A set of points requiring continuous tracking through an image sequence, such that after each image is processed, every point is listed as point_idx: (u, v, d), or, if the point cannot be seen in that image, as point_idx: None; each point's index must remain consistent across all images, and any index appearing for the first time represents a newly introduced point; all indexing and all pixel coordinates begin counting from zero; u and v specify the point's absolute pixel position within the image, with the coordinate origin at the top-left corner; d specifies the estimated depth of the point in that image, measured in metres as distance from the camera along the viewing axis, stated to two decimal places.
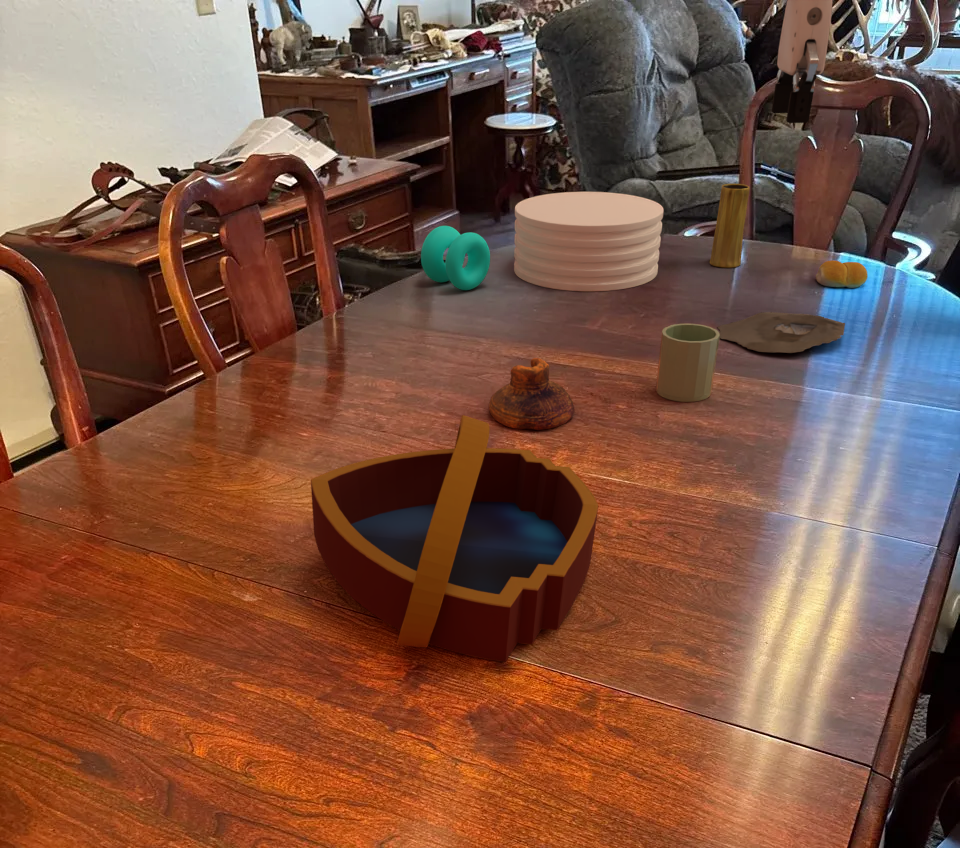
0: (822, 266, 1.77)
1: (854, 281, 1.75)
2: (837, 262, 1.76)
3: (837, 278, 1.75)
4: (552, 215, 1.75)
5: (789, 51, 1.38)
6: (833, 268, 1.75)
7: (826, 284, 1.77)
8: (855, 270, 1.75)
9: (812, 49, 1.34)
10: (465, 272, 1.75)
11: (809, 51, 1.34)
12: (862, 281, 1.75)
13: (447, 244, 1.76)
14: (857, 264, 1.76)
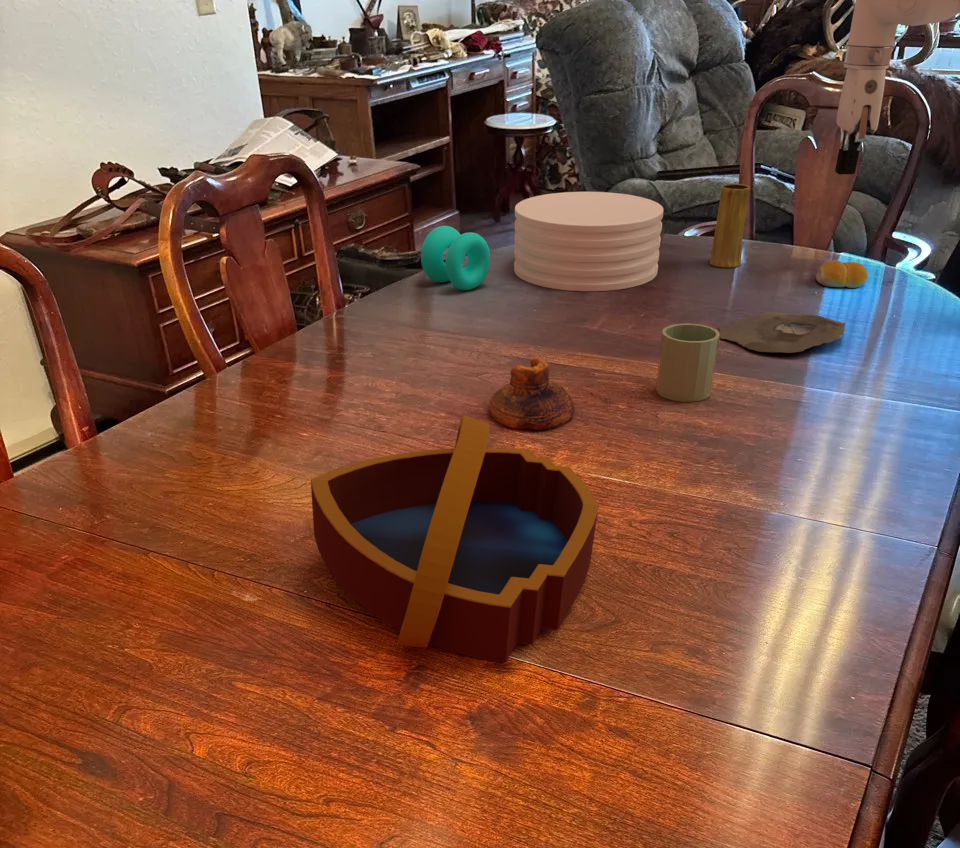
0: (822, 266, 1.77)
1: (854, 281, 1.75)
2: (837, 262, 1.76)
3: (837, 278, 1.75)
4: (552, 215, 1.75)
5: (849, 113, 1.68)
6: (833, 268, 1.75)
7: (826, 284, 1.77)
8: (855, 270, 1.75)
9: (863, 124, 1.67)
10: (465, 272, 1.75)
11: (860, 127, 1.67)
12: (862, 281, 1.75)
13: (448, 244, 1.76)
14: (857, 264, 1.76)
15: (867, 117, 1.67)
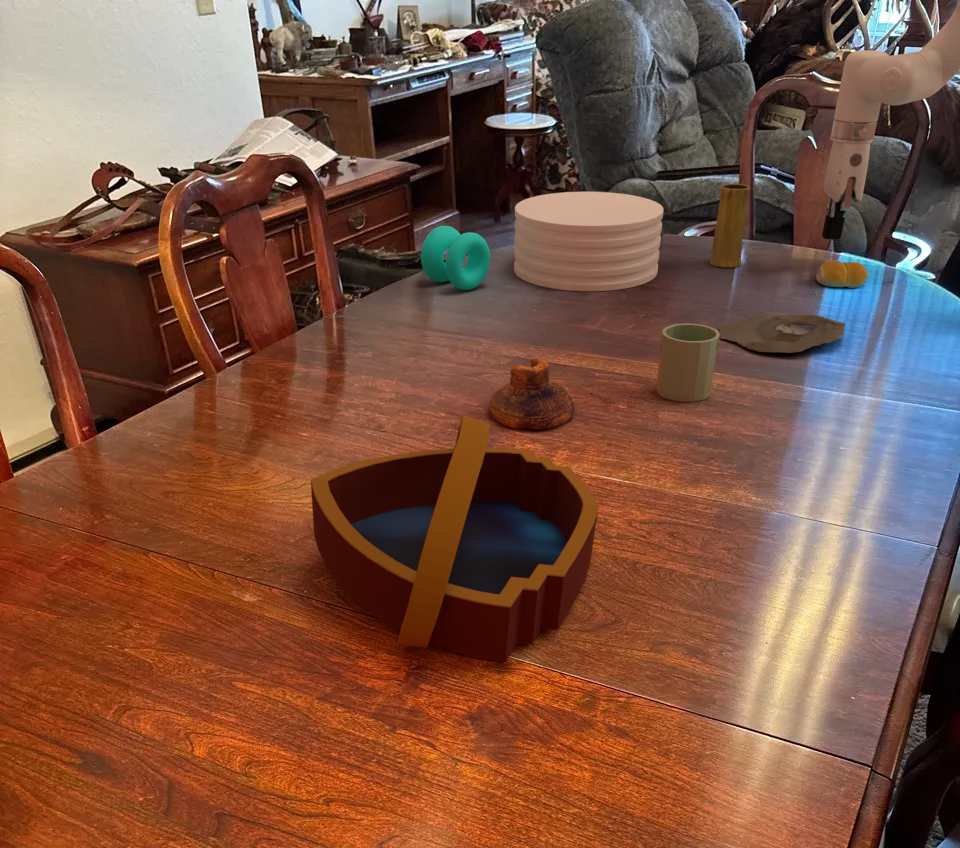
0: (822, 266, 1.77)
1: (854, 281, 1.75)
2: (837, 262, 1.76)
3: (837, 278, 1.75)
4: (552, 215, 1.75)
5: (835, 184, 1.75)
6: (833, 268, 1.75)
7: (826, 284, 1.77)
8: (855, 270, 1.75)
9: (848, 195, 1.74)
10: (465, 272, 1.75)
11: (845, 197, 1.74)
12: (862, 281, 1.75)
13: (447, 244, 1.76)
14: (857, 264, 1.76)
15: (852, 188, 1.74)
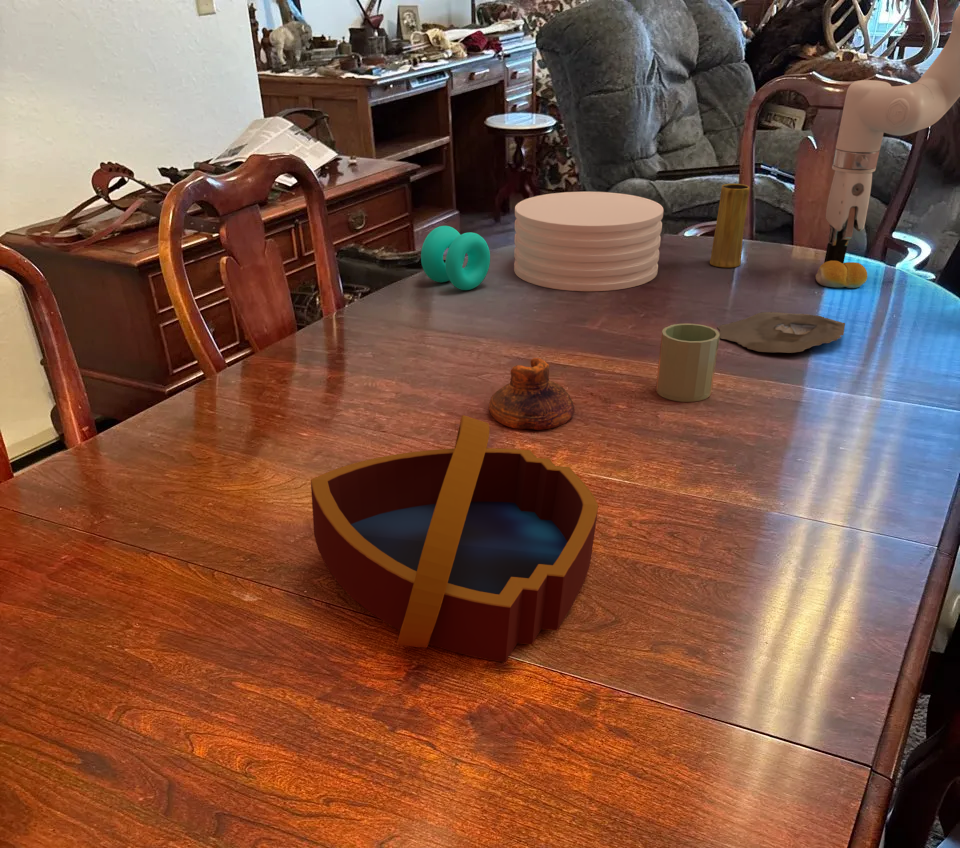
0: (822, 266, 1.77)
1: (854, 281, 1.75)
2: (837, 262, 1.76)
3: (837, 278, 1.75)
4: (552, 215, 1.75)
5: (837, 213, 1.74)
6: (833, 268, 1.75)
7: (826, 284, 1.76)
8: (855, 270, 1.75)
9: (850, 224, 1.73)
10: (465, 272, 1.75)
11: (847, 226, 1.73)
12: (862, 281, 1.75)
13: (448, 244, 1.76)
14: (857, 264, 1.76)
15: (854, 217, 1.72)
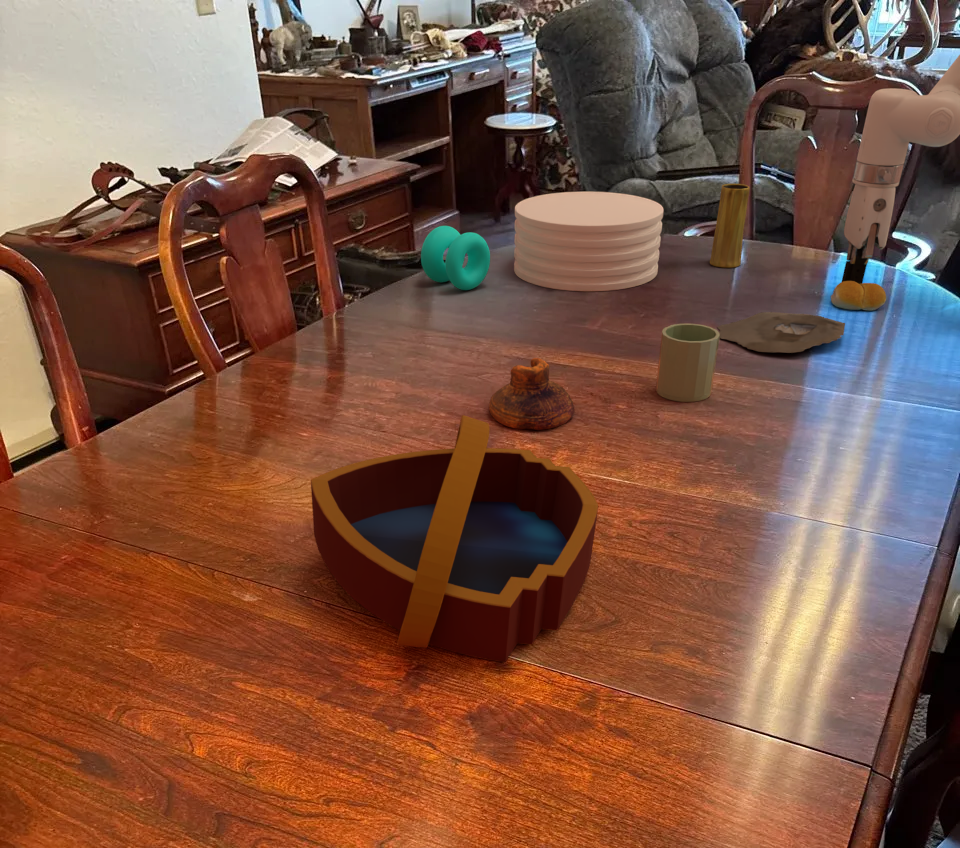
0: (837, 287, 1.67)
1: (870, 304, 1.64)
2: (853, 283, 1.65)
3: (852, 299, 1.64)
4: (552, 215, 1.75)
5: (857, 229, 1.63)
6: (849, 289, 1.65)
7: (841, 306, 1.66)
8: (872, 292, 1.64)
9: (871, 242, 1.62)
10: (465, 272, 1.75)
11: (868, 244, 1.62)
12: (879, 304, 1.65)
13: (447, 244, 1.76)
14: (875, 285, 1.65)
15: (875, 234, 1.62)
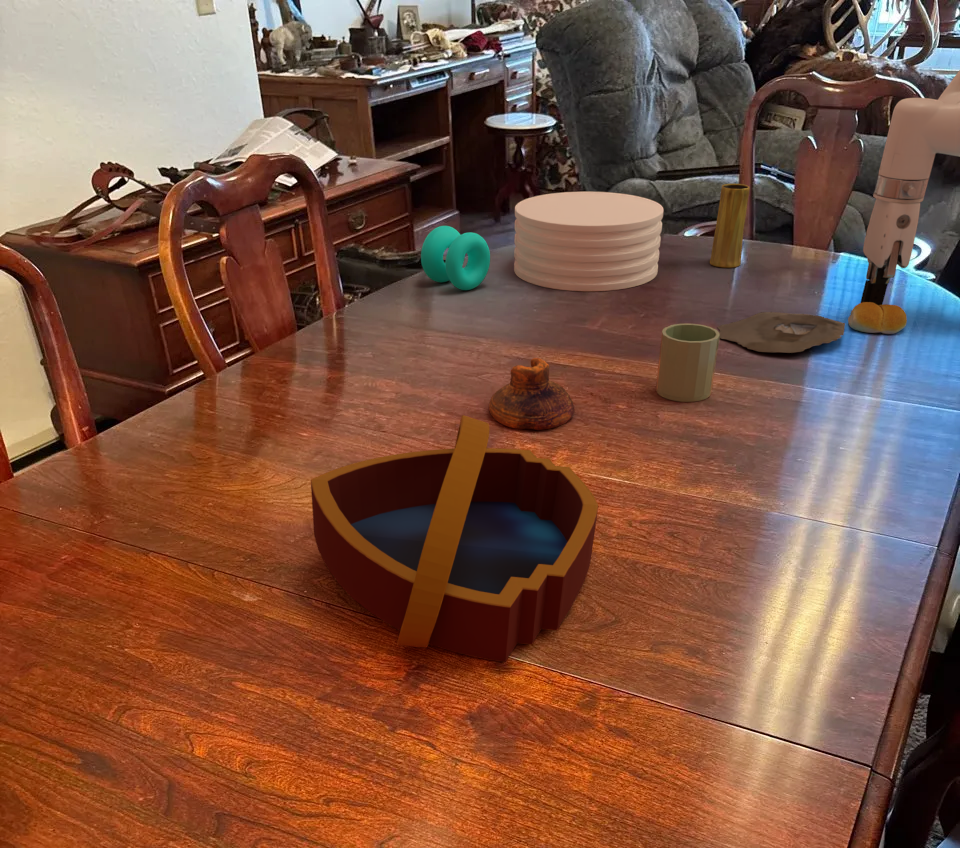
0: (855, 308, 1.57)
1: (890, 327, 1.54)
2: (872, 304, 1.56)
3: (870, 322, 1.55)
4: (552, 215, 1.75)
5: (878, 247, 1.53)
6: (867, 311, 1.55)
7: (858, 329, 1.57)
8: (892, 314, 1.54)
9: (893, 260, 1.52)
10: (465, 272, 1.75)
11: (890, 262, 1.52)
12: (899, 327, 1.55)
13: (448, 244, 1.76)
14: (895, 307, 1.55)
15: (898, 252, 1.52)
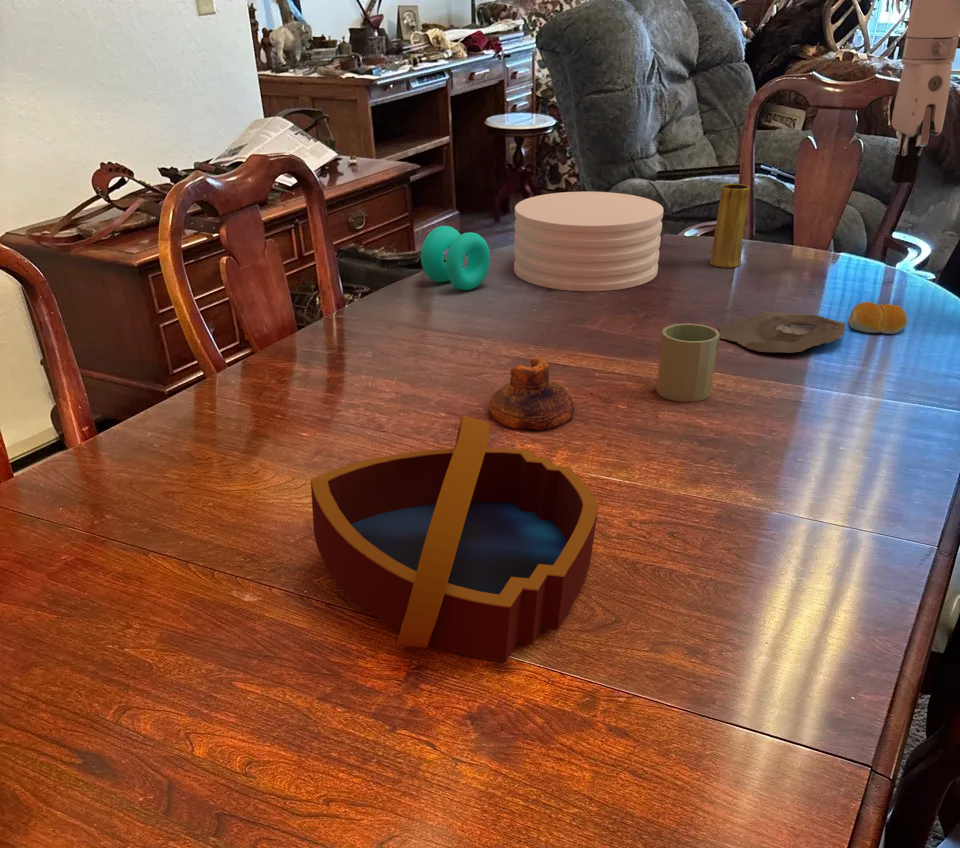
0: (855, 308, 1.57)
1: (890, 327, 1.54)
2: (872, 304, 1.56)
3: (870, 322, 1.55)
4: (552, 215, 1.75)
5: (909, 114, 1.48)
6: (867, 311, 1.55)
7: (858, 329, 1.56)
8: (892, 314, 1.54)
9: (926, 126, 1.47)
10: (465, 272, 1.75)
11: (923, 129, 1.48)
12: (900, 327, 1.55)
13: (448, 244, 1.76)
14: (895, 307, 1.55)
15: (931, 118, 1.47)
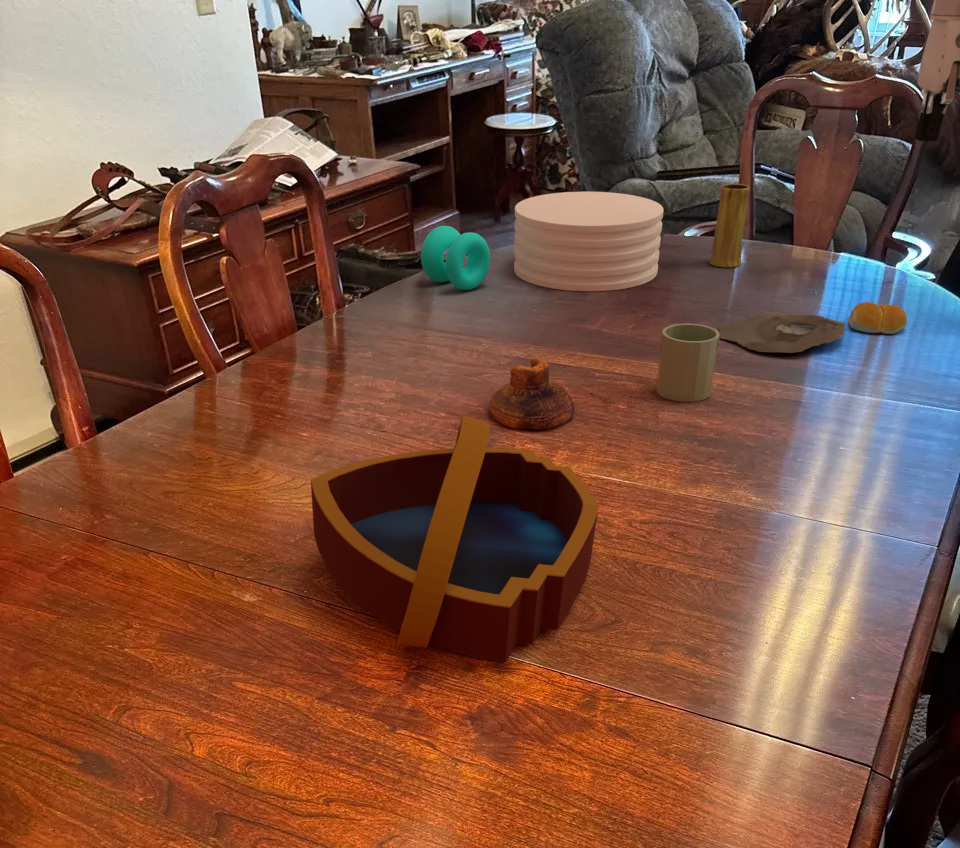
0: (855, 308, 1.57)
1: (890, 327, 1.54)
2: (872, 304, 1.56)
3: (870, 322, 1.55)
4: (552, 215, 1.75)
5: (935, 71, 1.50)
6: (867, 311, 1.55)
7: (858, 329, 1.56)
8: (892, 314, 1.54)
9: (951, 83, 1.49)
10: (465, 272, 1.75)
11: (948, 86, 1.49)
12: (900, 327, 1.55)
13: (447, 244, 1.76)
14: (895, 307, 1.55)
15: (956, 75, 1.49)
